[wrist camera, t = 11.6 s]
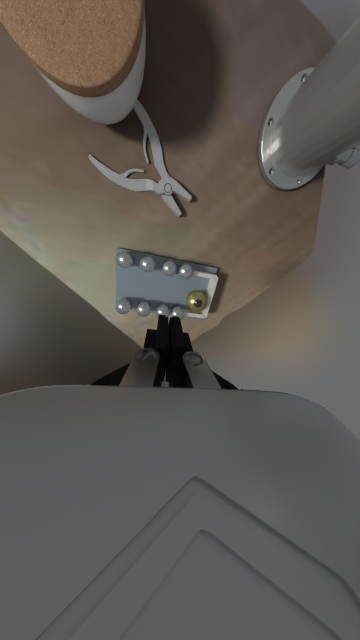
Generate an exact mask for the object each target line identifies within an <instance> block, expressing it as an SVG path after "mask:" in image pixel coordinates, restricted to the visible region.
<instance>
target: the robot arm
mask: <svg viewBox="0 0 360 640" xmlns="http://www.w3.org/2000/svg"><path fill="white" fill-rule="evenodd" d="M359 144H360V16H359V18H358V19H357V20H356V21H355V22H354V23H353V24H352V26H351V27H350V28H349V29H348V30H347V32H346V33H345V34H344V35H343V36H342V37H341V38H340V40H339V41H338V42H337V43H336V44H335V46H334V47H333V48H332V49H331V50H330V51H329V53H328V54H327V55H326V56H325V57H324V58H323V60H322V61H321V62H320V63H319V64H318V65H317V67H310V68H307V69H304V70H302V71H300V72H299V73H297V74H296V75H294V76H293V77H292V78H291V79H290V80H289V81H288V82H287V83H286V84H285V85H284V86H283V88H282V89H281V90H280V91H279V93H278V94H277V95H276V97H275V99H274V100H273V102H272V103H271V105H270V107H269V109H268V111H267V113H266V116H265V118H264V121H263V124H262V127H261V132H260V137H259V146H258V155H259V164H260V169H261V171H262V174H263V176H264V178H265V179H266V181H267V182H268V183H269V184H270V185H271V186H272V187H274V188H275V189H277V190H282V191H286V190H292V189H295V188H298V187H300V186H302V185H304V184H305V183H307V182H308V181H310V180H311V179H312V178H313V177H314V176H315V175H316V174H317V173H318V172H319V171H320V170H321V168H322V167H323V166H324V165H326V164H330V165H333V164H335V163H338V164H339V165H341V166H343V167H345V168H348V169H349V168H351V167H353V166H354V165H355V164H356V163H357V162H358V161H359V160H360V150H358V149H356V148H354V147H355V146H357V145H359ZM165 370H166V382H169V387H160V386H161V382H163V381H164V376H165ZM0 640H360V439H358V437H357V436H356V435H355V434H353V433H352V432H351V431H350V430H349V429H348V428H347V427H346V426H345V425H344V424H343V423H342V422H341V421H339V420H338V419H337V418H336V417H335V416H334V415H333V414H332V413H331V412H329V411H328V410H327V409H325V408H324V407H322V406H321V405H319V404H317V403H315V402H313V401H310V400H308V399H305V398H302V397H300V396H296V395H292V394H288V393H281V392H272V391H260V390H243V389H241V390H239V389H238V388H236V387H235V386H234V385H233V384H231V383H230V382H228V381H227V380H225V379H223V378H222V377H221V376H219V375H217V374H216V373H214V372H213V371H212V370H211V369H210V367H209V365H208V363H207V362H206V360H205V358H204V357H203V356H202V355H201V354H199V353H197V352H194V351H193V349H192V345H191V342H190V338H189V334H188V333H184V332H183V331H182V326H181V321H180V317H177V316H173V317H172V318H170V320H169V325H168V317H166V315H159V318H158V326H157V330H152V329H147V333H146V338H145V343H144V348H143V349H140V350H138V351H137V352H136V353H135V355H134V357H133V359H132V361H131V363H129V364H127V365H125V366H123V367H121V368H119V369H117V370H116V371H114V372H112V373H110V374H108V375H106V376H104V377H103V378H101V379H99V380H97V381H95V382H94V383H93V384H91V385H85V384H83V385H60V386H44V387H37V388H30V389H24V390H20V391H15V392H11V393H7V394H3V395H0Z"/></svg>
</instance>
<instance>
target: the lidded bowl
mask: <svg viewBox="0 0 360 640" xmlns="http://www.w3.org/2000/svg"><path fill="white" fill-rule="evenodd" d="M0 21H1V22H2V24H3V25H4V27H5V28H6V29H7V31H8V32H9V34H10V35H11V36H12V38H13V39H14V41H15V42H16V43H17V45H18V46H19V48H20V49H21V50H22V52H23V53H24V54H25V55H26V56H27V57H28V59H29V60H30V61H31V62H32V63H33V64H34V66H35V67H36V69H37V70H38V71H39V73H40V74H41V75H42V77H43V78H44V79H45V80H46V81H47V83H48V84H49V85H50V86H51V87H52V88H53V89H54V91H55V92H56V93H57V94H58V95H59V96H60V97H61V98H62V99H63V100H64V101H65V102H66V103H67V104H68V105H69V106H70V107H71V108H73V109H74V110H75V111H76V112H77V113H79V114H80V115H82V116H83V117H85V118H87V119H89V120H91V121H93V122H96V123H99V124H107V125H109V124H114V123H117V122H119V121H121V120H123V119H124V118H125V117H126V116H127V115H128V114H129V113H130V112H131V110H132V109H133V107H134V105H135V103H136V100H137V98H138V95H139V93H140V89H141V85H142V81H143V73H144V65H145V48H146V22H145V0H0Z"/></svg>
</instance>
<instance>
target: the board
mask: <svg viewBox="0 0 360 640" xmlns="http://www.w3.org/2000/svg"><path fill="white" fill-rule="evenodd" d="M124 251H128V252H130V253H132V254H133V256H134V263H133V265H131V266H129V267H128V268H122V267H120V266H119V265H118V264H117V262H116V305H117V303H118V302H119V301H120V300H121V298H123V297H127V298H129V299H131V301H132V306H131V308H130V310H135V311H137V307H138V305H139V303H140V301H142V300H147V301H149V302H150V304H151V308H150V313H157V306H158V304H160V303H166V304H167V305H168V308H169V315H171V308H172V306H174V305H180V306H181V307H182V310H183V313H184V317H189V318H197V319H203V318H204V317H207V314H208V311H209V308H210V305H211V301H212V298H213V295H214V291H215V288H216V285H217V281H218V278H219V277H217V275H216V272H217V269H218V268H215V267H210V266H205V265H200V264H195V263H190V262H185V261H180V260H175V259H170V258H165V257H160V256H155V255H151V254H146V253H141V252H136V251H131V250H126V249H121V248H116V255H117V254H118V253H119V252H124ZM145 256H151V257H153V258H154V260H155V267H154V269H153V271H151V272H145V271H143V270H142V269H141V267H140V260H141V259H142V258H143V257H145ZM166 260H172V261H173V262H174V263H175V264H176V267H177V271H176V273H175V274H174V275H173V276H167V275H165V274H164V272H163V269H162V266H163V263H164V262H165V261H166ZM182 263H187V264H189V265H190V266H191V267H192V268H193V271H194V273H193V276H192V277H191V278H189V279H184V278H182V277H181V276H180V274H179V272H178V268H179V266H180V265H181V264H182ZM193 290H199V291H201V292H202V293H203V294H204V296H205V297H206V298H207V301H208V303H207V306H206V308H205V309H204V310H203V311H201V312H194V311H192V310H191V309H190V308H189V306H188V303H187V300H186V298H187V295H188V294H189V293H190V292H191V291H193Z"/></svg>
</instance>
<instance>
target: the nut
mask: <svg viewBox="0 0 360 640" xmlns="http://www.w3.org/2000/svg"><path fill="white" fill-rule="evenodd" d="M186 300H187V303H188V306H189V308H190V309H191V310H192V311H194V312H201V311H203V310H204V309H205V308H206V306H207V303H208V301H207V298H206V297H205V296H204V294H203V293H202V292H201V291H199V290H193V291H191V292H190V293H189V294H188V295H187V298H186Z"/></svg>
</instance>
